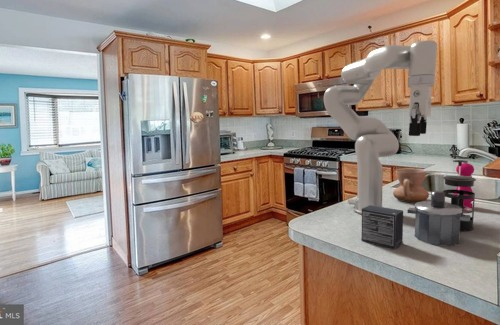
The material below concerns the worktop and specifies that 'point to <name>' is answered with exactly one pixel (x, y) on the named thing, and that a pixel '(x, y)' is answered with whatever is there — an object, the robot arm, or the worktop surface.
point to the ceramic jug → (411, 185)
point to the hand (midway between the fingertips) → (417, 134)
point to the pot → (437, 228)
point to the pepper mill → (465, 171)
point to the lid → (438, 206)
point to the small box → (382, 226)
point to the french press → (461, 195)
